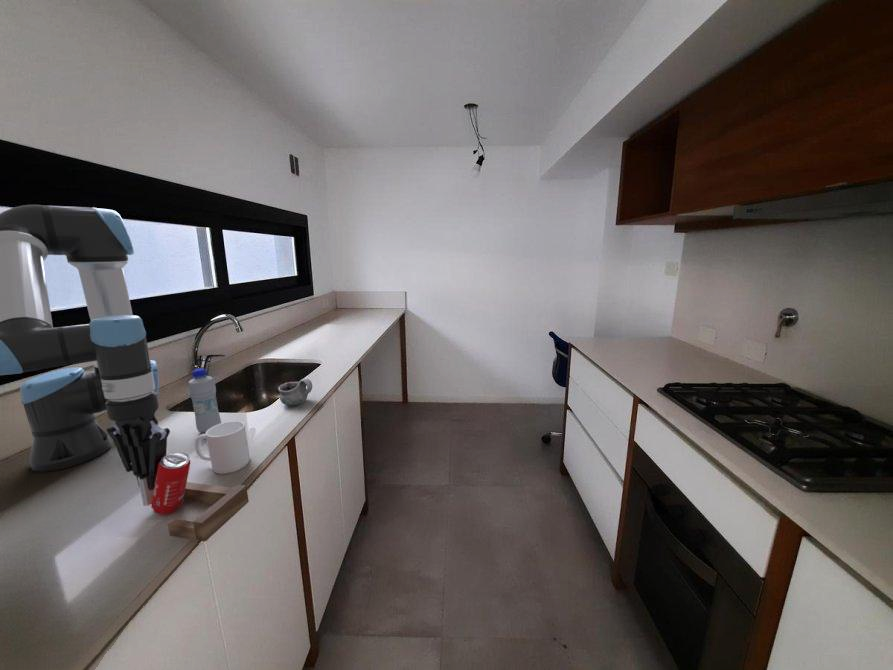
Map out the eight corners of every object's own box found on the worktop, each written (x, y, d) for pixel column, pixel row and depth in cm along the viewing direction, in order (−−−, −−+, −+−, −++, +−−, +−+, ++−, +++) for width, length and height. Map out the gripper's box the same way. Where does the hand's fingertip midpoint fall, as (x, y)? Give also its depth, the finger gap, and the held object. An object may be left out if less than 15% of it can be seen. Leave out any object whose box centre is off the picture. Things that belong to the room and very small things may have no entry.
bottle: (191, 434, 106) (179, 371, 102) (213, 424, 112) (202, 364, 108) (206, 438, 104) (194, 373, 99) (228, 428, 110) (217, 366, 105)
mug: (290, 398, 133) (287, 372, 130) (321, 399, 131) (319, 373, 129) (274, 409, 123) (271, 381, 121) (308, 410, 121) (305, 382, 119)
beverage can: (167, 520, 71) (176, 472, 68) (143, 510, 72) (151, 462, 68) (188, 502, 76) (197, 457, 73) (166, 493, 77) (174, 448, 73)
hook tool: (117, 527, 70) (113, 509, 69) (170, 491, 80) (166, 475, 79) (205, 541, 66) (201, 523, 65) (248, 501, 76) (246, 485, 75)
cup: (240, 473, 86) (234, 435, 84) (189, 477, 85) (181, 438, 83) (255, 455, 94) (250, 420, 92) (208, 457, 93) (202, 422, 91)
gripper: (83, 399, 67) (108, 509, 72) (137, 405, 64) (159, 518, 69) (125, 386, 74) (145, 486, 79) (175, 390, 71) (193, 493, 76)
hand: (152, 501), depth 74 cm, fingers closed
